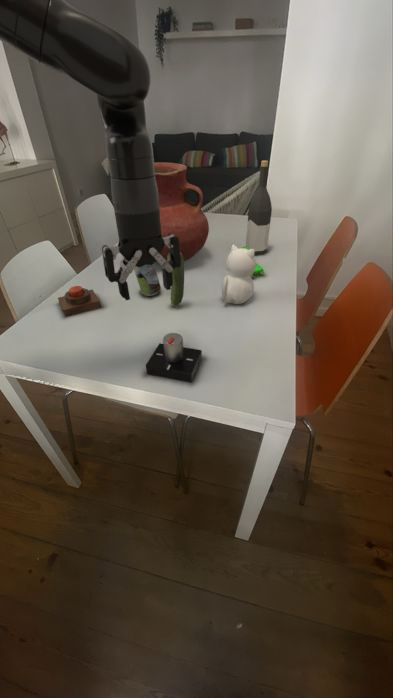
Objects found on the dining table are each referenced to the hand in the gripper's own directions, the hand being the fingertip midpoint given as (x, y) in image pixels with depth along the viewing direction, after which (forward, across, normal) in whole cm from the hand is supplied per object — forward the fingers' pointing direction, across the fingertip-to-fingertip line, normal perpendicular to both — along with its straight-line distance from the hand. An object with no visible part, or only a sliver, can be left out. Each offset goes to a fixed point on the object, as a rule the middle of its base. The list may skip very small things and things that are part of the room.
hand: (147, 293), depth 63 cm
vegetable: (+16, -14, -17) cm, 27 cm away
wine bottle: (+15, -57, -40) cm, 72 cm away
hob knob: (+13, -2, +6) cm, 15 cm away
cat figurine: (+16, -30, -12) cm, 36 cm away
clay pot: (+16, -26, -51) cm, 60 cm away
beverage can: (+16, -10, -29) cm, 34 cm away
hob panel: (+16, -2, +6) cm, 17 cm away
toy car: (+16, -44, -27) cm, 54 cm away
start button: (+12, +10, -31) cm, 35 cm away
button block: (+16, +10, -32) cm, 37 cm away
